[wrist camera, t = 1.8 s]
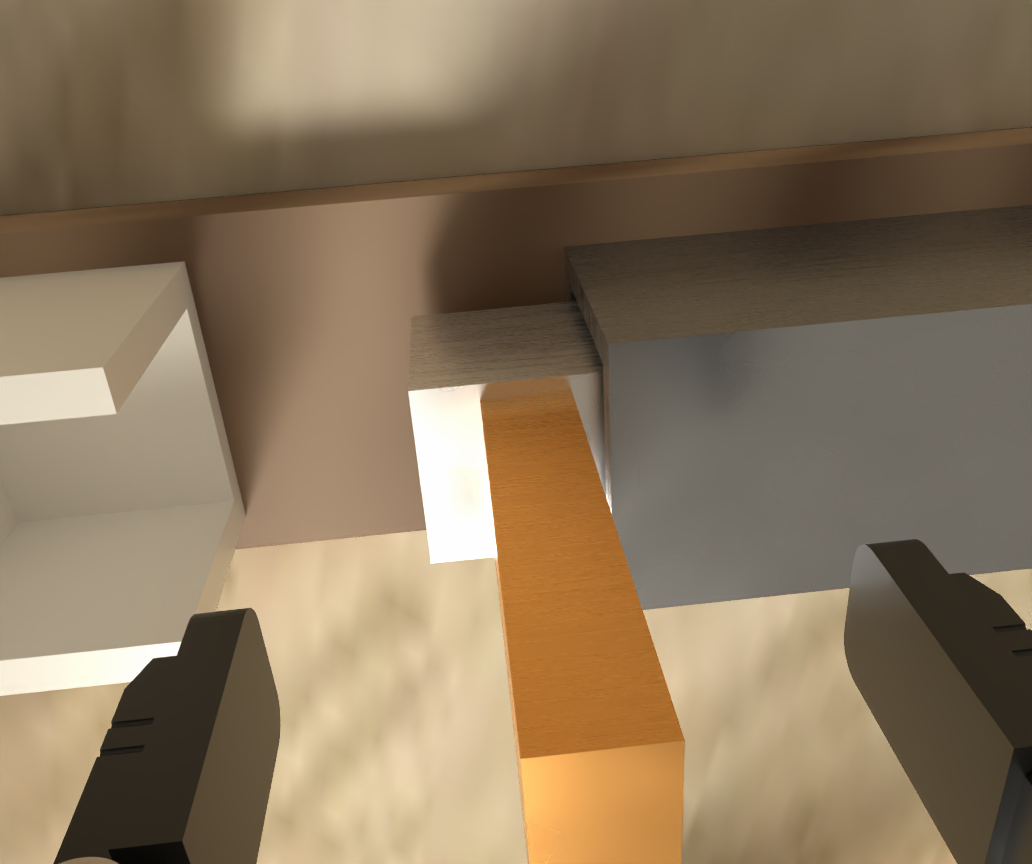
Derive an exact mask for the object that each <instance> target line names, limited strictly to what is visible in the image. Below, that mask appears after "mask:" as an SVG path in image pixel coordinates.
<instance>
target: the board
mask: <svg viewBox="0 0 1032 864" xmlns="http://www.w3.org/2000/svg"><path fill="white" fill-rule="evenodd" d="M1022 205H1032V127H1030V128H1019V129H1007V130H996V131H984V132H972V133H961V134H949V135H937V136H926V137H914V138H903V139H891V140H879V141H868V142H856V143H844V144H833V145H821V146H809V147H798V148H786V149H775V150H763V151H751V152H740V153H728V154H716V155H705V156H693V157H681V158H670V159H658V160H647V161H635V162H623V163H612V164H600V165H588V166H577V167H565V168H553V169H542V170H530V171H519V172H507V173H495V174H484V175H472V176H460V177H449V178H437V179H426V180H414V181H402V182H391V183H379V184H367V185H356V186H344V187H332V188H321V189H309V190H298V191H286V192H274V193H263V194H251V195H239V196H228V197H216V198H204V199H193V200H181V201H170V202H158V203H146V204H135V205H123V206H111V207H100V208H88V209H76V210H65V211H53V212H42V213H30V214H18V215H7V216H0V278H3V277H14V276H25V275H37V274H48V273H59V272H70V271H82V270H93V269H104V268H116V267H127V266H138V265H149V264H161V263H172V262H183V261H185V265H186V269H187V273H188V278H189V282H190V286H191V290H192V294H193V298H194V303H195V307H196V311H197V315H198V319H199V323H200V327H201V332H202V336H203V340H204V344H205V348H206V352H207V356H208V361H209V365H210V369H211V373H212V377H213V381H214V385H215V390H216V394H217V398H218V402H219V406H220V410H221V415H222V419H223V423H224V427H225V431H226V435H227V439H228V444H229V448H230V452H231V456H232V460H233V464H234V468H235V473H236V477H237V481H238V485H239V489H240V493H241V498H242V502H243V506H244V510H245V514H246V517H245V521H244V524H243V527H242V530H241V533H240V536H239V539H238V542H237V546H236V549H243V548H253V547H263V546H273V545H282V544H292V543H302V542H312V541H322V540H331V539H341V538H351V537H361V536H371V535H380V534H390V533H400V532H410V531H420V530H427V528H426V521H425V513H424V506H423V498H422V491H421V483H420V476H419V469H418V461H417V454H416V446H415V439H414V431H413V424H412V416H411V409H410V401H409V394H408V383H409V361H410V339H411V317H412V316H421V315H432V314H443V313H454V312H465V311H475V310H486V309H497V308H508V307H519V306H530V305H540V304H551V303H562V302H567V300H566V277H565V254H564V246H575V245H587V244H598V243H609V242H620V241H631V240H642V239H654V238H665V237H676V236H687V235H698V234H709V233H721V232H732V231H743V230H754V229H765V228H776V227H787V226H799V225H810V224H821V223H832V222H843V221H854V220H866V219H877V218H888V217H899V216H910V215H921V214H933V213H944V212H955V211H966V210H977V209H988V208H999V207H1011V206H1022Z"/></svg>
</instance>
